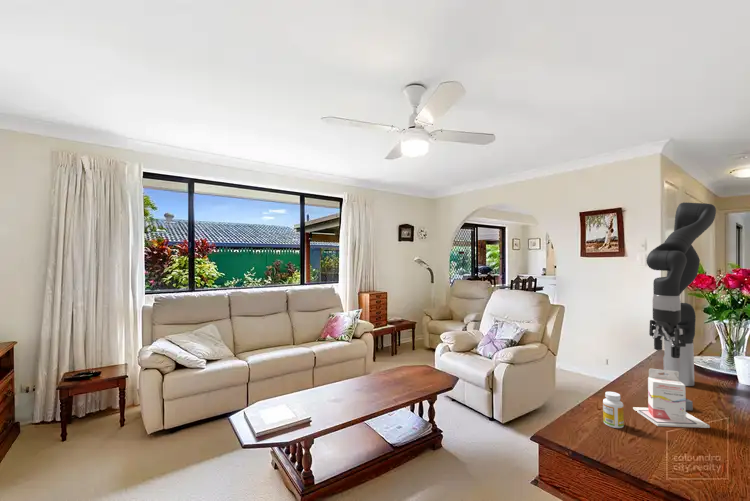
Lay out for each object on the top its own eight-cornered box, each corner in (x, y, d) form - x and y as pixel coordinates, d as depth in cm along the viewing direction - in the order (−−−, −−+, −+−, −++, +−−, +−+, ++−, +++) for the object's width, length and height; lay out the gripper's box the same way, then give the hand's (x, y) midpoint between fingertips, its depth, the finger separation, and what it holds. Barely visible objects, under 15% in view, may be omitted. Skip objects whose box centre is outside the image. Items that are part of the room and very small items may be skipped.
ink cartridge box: (653, 418, 112) (652, 372, 112) (648, 411, 116) (647, 367, 117) (687, 422, 108) (685, 375, 109) (680, 415, 113) (679, 370, 113)
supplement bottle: (620, 421, 111) (619, 391, 111) (626, 429, 106) (625, 398, 106) (601, 419, 113) (600, 389, 113) (606, 427, 108) (605, 395, 108)
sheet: (633, 409, 120) (632, 406, 120) (679, 410, 119) (679, 407, 119) (657, 426, 108) (657, 423, 108) (709, 427, 107) (709, 424, 107)
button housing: (656, 401, 126) (656, 393, 126) (677, 401, 126) (676, 393, 126) (670, 409, 119) (670, 400, 119) (692, 410, 119) (692, 401, 119)
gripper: (641, 304, 128) (641, 347, 128) (669, 311, 114) (669, 360, 114) (663, 304, 127) (664, 347, 127) (694, 311, 113) (694, 360, 113)
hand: (666, 353), depth 121 cm, fingers open, 8 cm apart
